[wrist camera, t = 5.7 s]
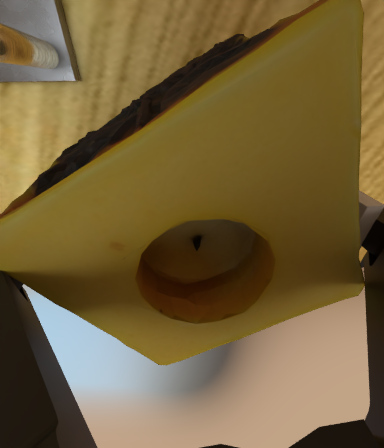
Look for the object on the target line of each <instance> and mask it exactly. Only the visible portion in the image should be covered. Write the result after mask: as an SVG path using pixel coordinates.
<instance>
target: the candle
mask: <svg viewBox="0 0 384 448" xmlns="http://www.w3.org/2000/svg"><path fill="white" fill-rule="evenodd" d="M363 19H364V12H363V9H362V5H361V1H360V0H319V1H317V2H316V3H314V4H313V5H311V6H310V7H308V8H306V9H305V10H303V11H302V12H300V13H298V14H295V15H292V16H290V17H287V18H284V19H281V20H279V21H278V22H277V23H276V24H275V25H273V26H272V27H271V28H270V29H267V30H265V31H263V32H261V33H259V34H257V35H255V36H254V37H252V38H250V39H249V38H247V37H245V36H244V34H236V35H234V36H233V37H231V38H229V39H227V40H225V41H224V42H220V43H219V44H215V45H214V47H213V48H212V49H210V50H209V51H208V52H206V53H204V54H203V55H202V56H199V57H197V58H194V59H193V60H191V61H190V62H188V63H187V65H186V66H185V67H183V68H180V69H178V70H177V71H175V72H174V73H173V74H171V75H170V76H169V77H168V78H166V79H165V80H164V81H163V82H161V83H160V84H158V85H156V86H155V87H153V88H151V89H150V90H148V91H146V93H145V94H143V95H142V96H140V98H139V99H137V100H133V101H132V103H131V104H130V106H128V107H126V108H124V109H122V112H121V113H120V114H119V115H117V116H116V117H115V118H113V119H112V120H110V121H109V122H108V123H107V124H106V125H104V126H103V127H102V128H100V129H99V130H97V131H92V132H88V133H87V135H86V136H85V137H84V138H82V139H80V140H79V141H78V143H76V144H74V145H72V146H70V147H68V148H67V149H65V150H64V151H63V152H62V154H61V156H60V157H58V158H57V159H56V160H55V161H54V162H53V164H52V165H51V167H50V168H49V169H48V170H46V171H45V172H43V173H42V174H40V175H39V177H38V179H37V180H36V181H35V182H34V183H33V184H32V185H31V186H30V187H29V188H28V189H27V190H26V191H25V193H24V194H22V195H21V196H19V197H18V198H17V199H15V200H14V201H12V203H11V204H10V205H9V206H8V207H7V208H6V209H5V211H4V212H3V213H2V214H0V271H3V272H4V273H5V274H7V275H9V276H11V277H12V278H14V279H16V280H18V281H20V282H22V283H23V284H25V285H26V286H28V287H30V288H31V289H33V290H34V291H36V292H37V293H39V294H41V295H42V296H44V297H46V298H47V299H49V300H50V301H52V302H53V303H55V304H57V305H59V306H61V307H63V308H65V309H67V310H69V311H70V312H72V313H74V314H76V315H78V316H79V317H81V318H82V319H84V320H86V321H88V322H89V323H91V324H92V325H94V326H96V327H97V328H99V329H101V330H103V331H105V332H106V333H108V334H110V335H112V336H114V337H115V338H117V339H118V340H120V341H121V342H122V343H124V344H125V345H126V346H128V347H130V348H132V349H134V350H136V351H137V352H139V353H141V354H142V355H144V356H146V357H147V358H149V359H151V360H152V361H154V362H155V363H157V364H158V365H169V364H171V363H175V362H178V361H181V360H184V359H187V358H189V357H192V356H194V355H197V354H200V353H202V352H205V351H207V350H210V349H213V348H215V347H218V346H221V345H224V344H227V343H229V342H233V341H235V340H238V339H241V338H244V337H246V336H248V335H251V334H253V333H256V332H258V331H261V330H263V329H266V328H268V327H271V326H273V325H275V324H278V323H280V322H283V321H285V320H288V319H290V318H293V317H296V316H299V315H301V314H304V313H307V312H310V311H312V310H315V309H318V308H321V307H324V306H327V305H330V304H333V303H335V302H338V301H341V300H344V299H348V298H351V297H355V296H358V295H359V294H360V292H361V291H362V289H363V287H364V286H365V281H364V277H363V272H362V269H361V265H360V261H359V250H360V240H361V238H360V225H359V162H360V140H361V68H362V44H363Z"/></svg>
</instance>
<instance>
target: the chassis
mask: <svg viewBox="0 0 384 448" xmlns="http://www.w3.org/2000/svg"><path fill="white" fill-rule="evenodd" d="M38 81H81V78H80V74H79V70H78V66H77V62H76V58H75V54H74V50H73V47H72V43H71V39H70V35H69V31H68V27H67V23H66V19H65V15H64V11H63V7H62V3H61V0H0V82H38Z"/></svg>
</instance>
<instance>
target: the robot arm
mask: <svg viewBox="0 0 384 448" xmlns="http://www.w3.org/2000/svg"><path fill="white" fill-rule="evenodd" d="M359 225H360V238H361V240H360V248H361V246H362V247H364V248H365V249H366V250H367V253H366V254H365V256H364V257H363V259H362V261H361V262H360V265H361V268H362V267H364V277H365V298H366V322H367V344H368V366H369V389H370V407H369V412H368V414H367V416H366V419H365V421H364V419H363V420H357V421H351V422H346V423H340V424H334V425H328V426H322V427H319V428H317V429H316V430H314V431H313V432H311V433H310V434H308V435H307V436H305V437H304V438H302V439H301V440H299V441H298V442H296V443H295V444H293V445H292V446H291V447H289V448H384V204H382V203H380V202H378V201H377V200H375V199H373V198H371V197H370V196H368V195H366V194H364V193H363V192H361V191H359ZM22 285H23V283H22V282H20V281H18V280H16V279H14V278H12V277H11V276H9V275H7V274H5V273H4V272H3V271H0V448H97V446H96V444H95V441H94V439H93V437H92V435H91V433H90V431H89V428H88V426H87V424H86V422H85V420H84V418H83V415H82V413H81V411H80V409H79V406H78V404H77V402H76V400H75V398H74V396H73V393H72V391H71V389H70V387H69V385H68V383H67V380H66V378H65V376H64V374H63V372H62V369H61V367H60V365H59V363H58V361H57V358H56V356H55V354H54V352H53V350H52V347H51V345H50V343H49V341H48V339H47V336H46V334H45V332H44V330H43V328H42V326H41V323H40V321H39V319H38V317H37V315H36V312H35V311H34V308H33V306H32V304H31V301H30V299H29V297H28V295H27V293H26V291H25V290H24V288H23V287H22ZM202 448H238V447H233V446H228V445H223V444H219V445H213V446H207V447H202Z"/></svg>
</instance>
